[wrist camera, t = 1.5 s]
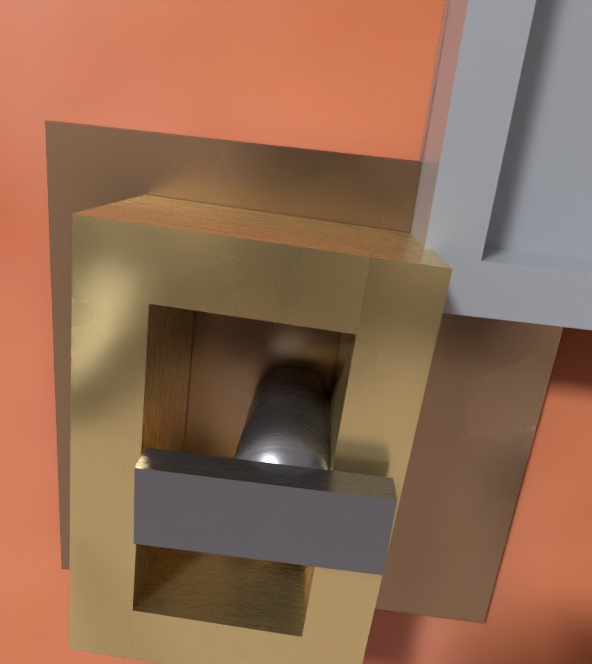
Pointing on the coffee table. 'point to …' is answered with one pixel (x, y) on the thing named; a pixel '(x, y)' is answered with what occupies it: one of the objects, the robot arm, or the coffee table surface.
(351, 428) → the gold hollow rectangular block
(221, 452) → the brown peg base plate
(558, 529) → the coffee table surface
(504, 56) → the tray
